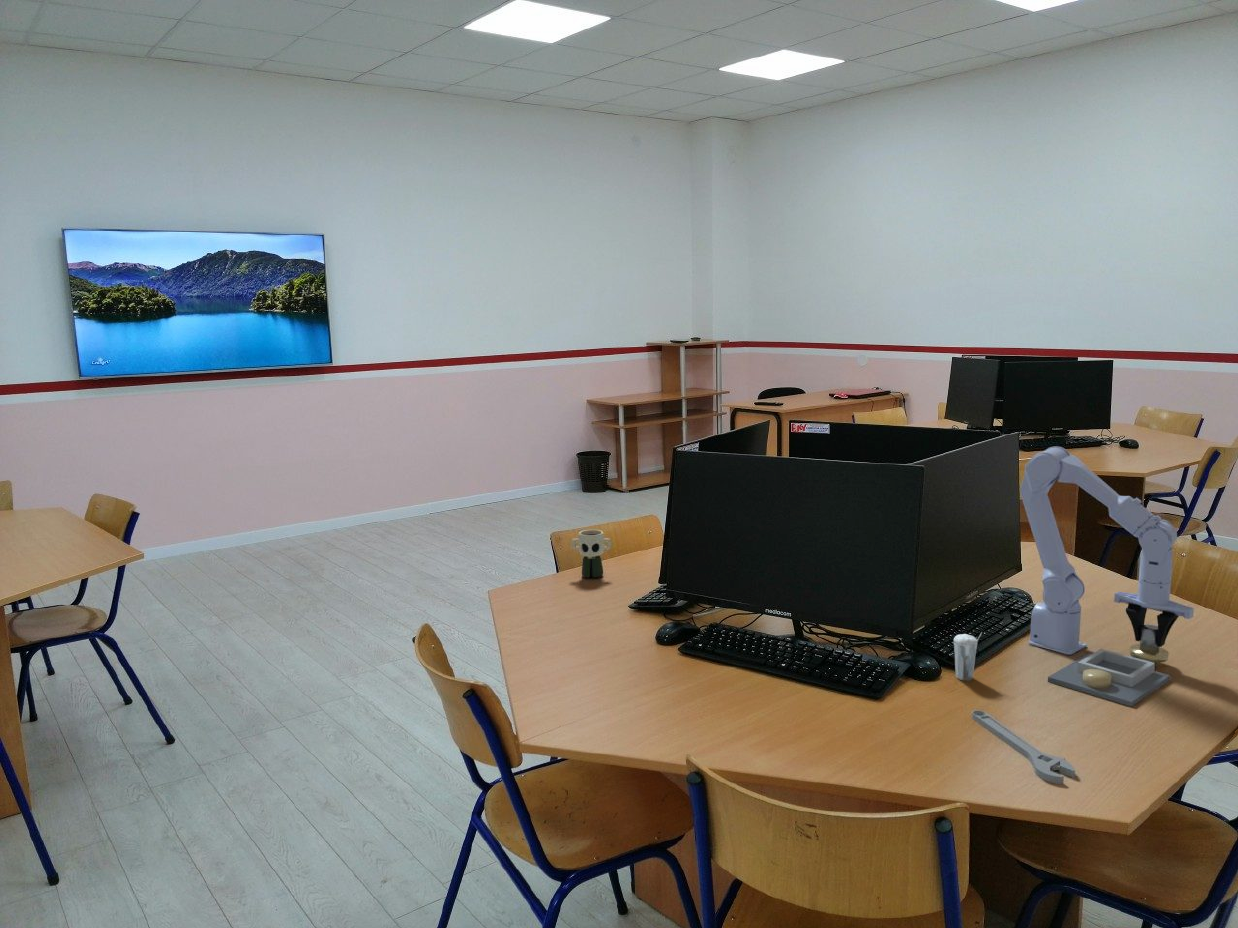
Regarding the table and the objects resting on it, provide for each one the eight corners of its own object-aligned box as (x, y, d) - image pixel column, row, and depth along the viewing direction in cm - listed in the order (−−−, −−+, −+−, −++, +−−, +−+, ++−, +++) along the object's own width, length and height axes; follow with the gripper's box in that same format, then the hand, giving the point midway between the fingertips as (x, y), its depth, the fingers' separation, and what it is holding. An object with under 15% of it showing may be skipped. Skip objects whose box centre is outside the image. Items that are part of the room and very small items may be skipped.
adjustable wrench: (968, 718, 173) (968, 709, 173) (1000, 715, 174) (1000, 706, 174) (1047, 786, 149) (1047, 776, 149) (1084, 782, 150) (1084, 772, 149)
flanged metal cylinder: (1123, 655, 194) (1125, 627, 193) (1138, 646, 198) (1140, 619, 197) (1159, 665, 188) (1162, 636, 187) (1173, 656, 193) (1176, 627, 192)
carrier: (1047, 681, 187) (1048, 667, 186) (1088, 657, 198) (1089, 644, 198) (1131, 706, 175) (1132, 691, 174) (1170, 679, 186) (1171, 665, 185)
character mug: (572, 580, 264) (570, 535, 261) (575, 572, 271) (573, 529, 268) (610, 579, 263) (608, 535, 260) (612, 572, 270) (611, 529, 267)
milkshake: (982, 682, 187) (984, 636, 186) (954, 681, 188) (955, 634, 187) (978, 673, 192) (980, 628, 190) (950, 672, 193) (952, 626, 191)
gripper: (1201, 583, 187) (1195, 647, 190) (1126, 568, 198) (1121, 628, 201) (1187, 591, 183) (1182, 656, 185) (1111, 575, 194) (1107, 636, 196)
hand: (1149, 642), depth 193 cm, fingers closed on flanged metal cylinder, 4 cm apart
